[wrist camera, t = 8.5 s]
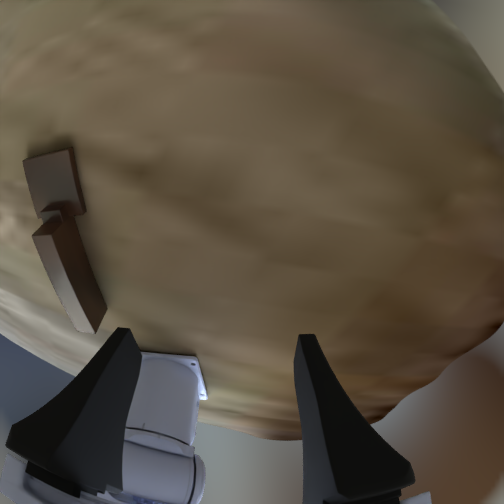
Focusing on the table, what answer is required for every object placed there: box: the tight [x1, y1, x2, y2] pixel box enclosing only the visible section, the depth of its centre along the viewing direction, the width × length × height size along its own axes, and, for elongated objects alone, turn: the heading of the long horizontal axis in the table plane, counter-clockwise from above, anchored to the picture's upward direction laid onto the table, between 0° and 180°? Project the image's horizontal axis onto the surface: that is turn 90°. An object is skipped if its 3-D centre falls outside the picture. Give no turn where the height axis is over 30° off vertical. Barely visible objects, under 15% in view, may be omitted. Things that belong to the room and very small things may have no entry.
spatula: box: [22, 147, 107, 334], centre depth 18 cm, size 15×5×3 cm, turn 0°
